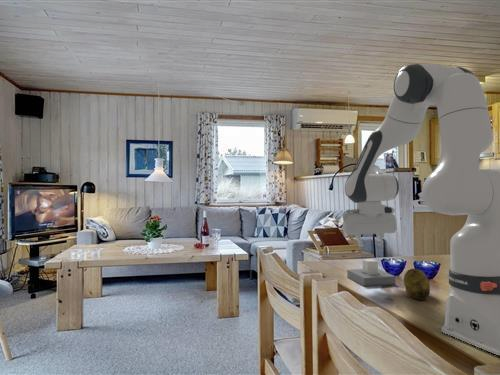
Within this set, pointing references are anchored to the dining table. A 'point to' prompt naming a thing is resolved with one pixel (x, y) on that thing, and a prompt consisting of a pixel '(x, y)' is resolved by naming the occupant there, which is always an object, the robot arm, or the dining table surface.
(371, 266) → the plug
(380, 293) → the dining table surface
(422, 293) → the potato
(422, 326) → the dining table surface
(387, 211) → the robot arm
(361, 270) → the socket
